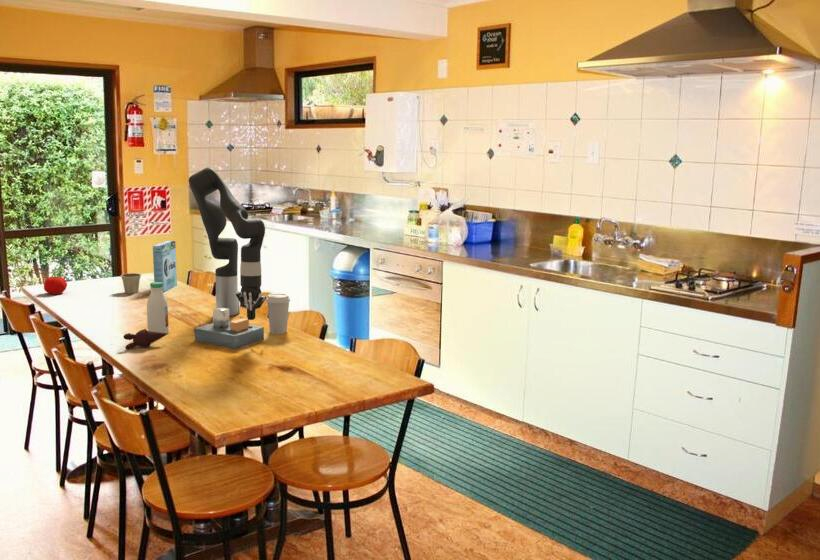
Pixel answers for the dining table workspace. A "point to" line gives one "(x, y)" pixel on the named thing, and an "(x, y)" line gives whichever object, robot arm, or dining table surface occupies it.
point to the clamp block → (239, 324)
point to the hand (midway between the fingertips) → (251, 319)
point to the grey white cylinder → (221, 317)
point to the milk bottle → (157, 309)
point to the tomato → (55, 285)
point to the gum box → (165, 264)
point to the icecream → (143, 338)
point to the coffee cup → (278, 312)
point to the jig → (228, 336)
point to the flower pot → (131, 282)
